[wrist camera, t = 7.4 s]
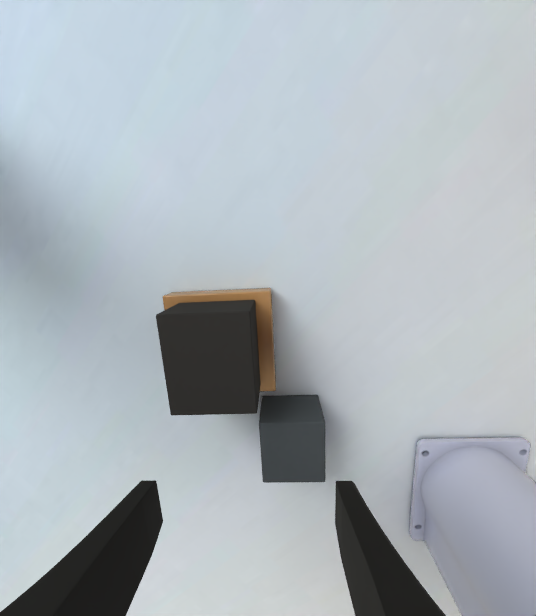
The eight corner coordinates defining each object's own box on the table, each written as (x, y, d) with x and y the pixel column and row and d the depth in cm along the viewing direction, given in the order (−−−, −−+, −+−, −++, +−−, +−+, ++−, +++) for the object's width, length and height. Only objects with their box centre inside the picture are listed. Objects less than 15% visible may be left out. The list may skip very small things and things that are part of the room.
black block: (260, 385, 18) (257, 414, 15) (189, 386, 18) (170, 415, 15) (255, 299, 16) (249, 310, 13) (178, 302, 17) (155, 314, 13)
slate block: (318, 446, 20) (325, 482, 17) (265, 447, 20) (262, 483, 17) (317, 394, 19) (325, 422, 16) (261, 395, 19) (258, 423, 16)
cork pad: (275, 380, 19) (275, 391, 18) (183, 383, 20) (175, 394, 18) (271, 287, 18) (270, 291, 16) (171, 292, 18) (161, 295, 17)
